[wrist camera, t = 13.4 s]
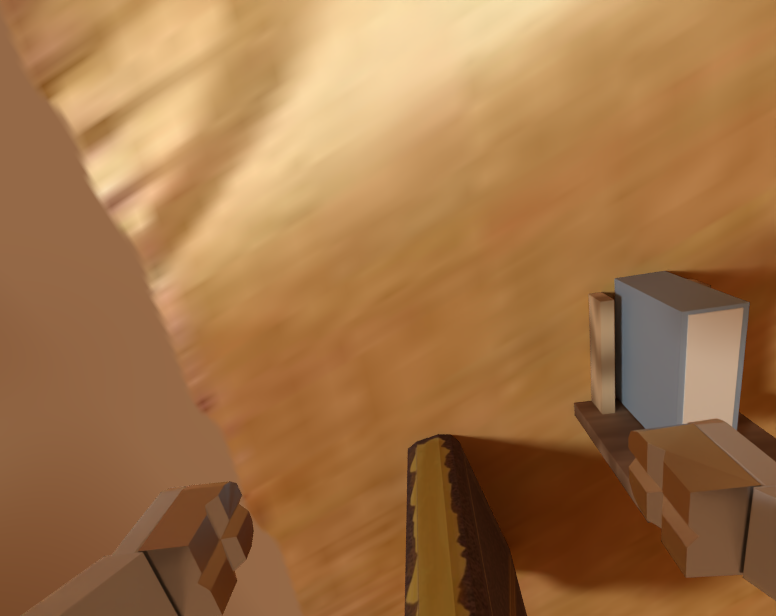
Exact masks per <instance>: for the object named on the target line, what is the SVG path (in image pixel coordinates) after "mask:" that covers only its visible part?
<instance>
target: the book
mask: <svg viewBox="0 0 776 616" xmlns="http://www.w3.org/2000/svg"><path fill="white" fill-rule="evenodd" d="M405 616H527V614H526V610H525V607H524V603H523V599H522V595H521V591H520V587H519V584H518V580H517V576H516V572H515V568H514V564H513V560H512V557H511V553H510V549H509V547H508V545H507V543H506V541H505V539H504V537H503V534H502V532H501V530H500V528H499V526H498V524H497V522H496V519H495V517H494V515H493V513H492V511H491V509H490V507H489V505H488V502H487V500H486V498H485V496H484V494H483V492H482V490H481V487H480V485H479V483H478V481H477V479H476V477H475V475H474V473H473V470H472V468H471V466H470V464H469V462H468V460H467V458H466V456H465V453H464V451H463V449H462V447H461V445H460V443H459V442H458V441H457V440H456V439H455V438H454V437H453V436H452V435H435V436H432V437H429V438H426V439H423V440H421V441H418V442H416V443H415V444H413V445H412V446H411V447H410V448H409V449H408V471H407V523H406V576H405Z"/></svg>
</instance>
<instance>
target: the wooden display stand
mask: <svg viewBox="0 0 776 616" xmlns="http://www.w3.org/2000/svg"><path fill="white" fill-rule="evenodd" d="M688 280H691V281H693V282H696V283H699V284H701V285H704V286H707V287H709V288H711V285H708V284H705V283H703V282H700V281H697V280H694V279H688ZM589 320H590V355H591V391H592V401H587V402H579V403H574V408H575V416H576V418H577V419H578V420H579V422H580V423H581V425H582V426H583V428H584V429H585V431H586V432H587V434H588V435H589V437H590V438H591V440H592V441H593V443H594V444H595V445H596V447H597V448H598V450H599V451H600V453H601V454H602V456H603V457H604V459H605V460H606V462H607V463H608V465H609V466H610V467H611V469H612V470H613V472H614V473H615V475H616V476H617V478H618V479H619V481H620V482H621V484H622V485H623V487H624V488H625V489H626V491H627V492H628V494H629V495H630V497H631V498H632V500H633V501H634V503H635V504H636V506H637V507H638V509H639V510H640V508H639V506H638V504H637V502H636V500H635V498H634V496H633V493H632V489H631V485H630V482H629V466H630V465H631V463H632V462H633V461H634V460H635V456H634V455H633V454H632V452H631V451H630V450H629V448H628V437H629V435H630V432H631V431H633V430H641V429H645V428H644V427H643V426H642V424H641V423H640V422H639V421H638V420H637V419H636V418H635V417H634V416H633V415H632V414H631V413H630V411H629V410H628V409H627V408H626V407H625V406H624V405H623V404H622V403H621V402H620V401H619V400H618V398H615V348H614V299H612V298H610V297H609V296H607V295H605V294H604V293H602V292H600V293H593V294H589ZM737 431H738V432H739V433H740V434H742V435H743V436H744V437H745V438H747V439H748V440H749V441H750V442H752V443H753V444H754V445H755V446H757V447H758V448H759V449H760V450H762V451H763V452H764V453H765V454H767V455H768V456H769V457H770V458H771V459H773V460H774V461H775V462H776V438H774V437H773V436H772V435H770V434H769V433H767V432H766V431H765V430H763V429H762V428H760V427H759V426H758V425H756V424H755V423H753V422H752V421H751V420H749V419H748V418H746V417H745V416H744V415H742V414H741V413H740V412H739V413H738V423H737ZM640 512H641V513H642V511H641V510H640ZM642 514H643V513H642ZM643 516H644V515H643ZM644 517H645V516H644ZM645 519H646V518H645ZM646 520H647V519H646ZM647 522H648V523H650V521H648V520H647Z"/></svg>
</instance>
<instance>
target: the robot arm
mask: <svg viewBox="0 0 776 616" xmlns="http://www.w3.org/2000/svg"><path fill="white" fill-rule="evenodd" d="M628 448H629V450H630V451H631V452H632V454H633V455H634V456H635V460H634V461H633V462H632V463H631V465H630V466H629V482H630V485H631V489H632V493H633V496H634V498H635V500H636V502H637V504H638V506H639V508H640V510H641V511H642V513H643V515H644V516H645V518H646V519H647V520H648V521H650V522H652V523H653V524H655V525H657V526H658V527H660V528H661V542H662V543H663V545H664V546H665V548H666V549H667V551H668V552H669V554H670V555H671V557H672V558H673V559H674V561H675V562H676V564H677V565H678V567H679V568H680V570H681V571H682V573H683V574H684V576H685V577H686V578H688V577H707V576H726V575H743V578H744V579H746V580H747V581H748V582H750V583H751V584H753V585H754V586H756V587H757V588H758V589H760V590H761V591H763V592H764V593H766V594H767V595H768V596H770V597H771V598H773V599H774V600H776V462H775V461H774V460H773V459H771V458H770V457H769V456H768V455H767V454H765V453H764V452H763V451H762V450H760V449H759V448H758V447H757V446H755V445H754V444H753V443H752V442H750V441H749V440H748V439H747V438H745V437H744V436H743V435H742V434H740V433H739V432H738V431H737V430H735V429H734V428H733V427H732V426H730V425H729V424H728V423H727V422H725V421H723V420H720V419H717V418H716V419H709V420H702V421H695V422H689V423H687V424H679V425H671V426H664V427H656V428H648V429H641V430H633V431H631V432H630V435H629V437H628ZM241 497H242V494H241V492H240V490H239V488H238V485H237V483H234V482H230V481H229V482H220V483H209V484H199V485H189V486H184V487H174V488H168V489H166V490H164V491H162V492H161V493H160V494H159V495H158V496H157V498H156V499H155V500H154V502H153V503H152V504H151V506H150V507H149V508H148V509H147V510H146V512H145V513H144V514H143V516H142V517H141V518H140V519H139V521H138V522H137V523H136V525H135V526H134V527H133V528H132V530H131V531H130V532H129V534H128V535H127V536H126V537H125V539H124V540H123V541H122V542H121V544H120V545H119V546H118V548H117V549H116V550H115V551H114V553H113V554H112V555H111V556H104V557H102V558H101V559H100V560H98V561H97V562H95V563H94V564H93V565H91V566H90V567H88V568H87V569H86V570H84V571H83V572H82V573H80V574H79V575H77V576H76V577H74V578H73V579H72V580H70V581H69V582H67V583H66V584H65V585H63V586H62V587H61V588H59V589H58V590H56V591H55V592H54V593H52V594H51V595H49V596H48V597H46V598H45V599H44V600H42V601H41V602H39V603H38V604H37V605H35V606H34V607H32V608H31V609H30V610H28V611H27V612H25V613H24V614H23V615H21V616H222V615H223V613H224V611H225V608H226V606H227V603H228V601H229V599H230V597H231V594H232V592H233V590H234V587H235V585H236V583H237V578H236V574H235V570H236V569H237V568H238V567H239V566H240V565H241V564H242V563H243V562H244V561H245V560H246V559H247V557H248V554H249V552H250V549H251V547H252V540H253V532H254V530H253V523H252V518H251V516H250V513H249V511H248V510H247V509H245V508H244V507H243V506H241V505H240V504H239V502H240V499H241Z"/></svg>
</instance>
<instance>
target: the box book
mask: <svg viewBox="0 0 776 616" xmlns="http://www.w3.org/2000/svg"><path fill="white" fill-rule="evenodd" d="M749 305H750V302H747V301H744V300H742V299H739V298H736V297H734V296H731V295H728V294H726V293H723V292H720V291H717V290H715V289H712V288H709V287H707V286H704V285H701V284H699V283H696V282H693V281H691V280H688V279H685V278H682V277H680V276H677V275H674V274H672V273H669V272H666V271H660V272H654V273H647V274H641V275H634V276H628V277H621V278H615V373H616V397H617V398H618V400H619V401H620V402H621V403H622V404H623V405H624V406H625V407H626V408H627V409H628V410H629V411H630V413H631V414H632V415H633V416H634V417H635V418H636V419H637V420H638V421H639V422H640V423H641V424H642V426H643V427H644V428H645V429H648V428H656V427H664V426H671V425H679V424H687V423H689V422H695V421H702V420H709V419H716V418H717V419H720V420H723V421H725V422H727V423H728V424H729V425H730V426H732V427H733V428H734V429H735V430H737V423H738V413H739V404H740V394H741V384H742V374H743V364H744V354H745V344H746V335H747V325H748V315H749Z"/></svg>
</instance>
